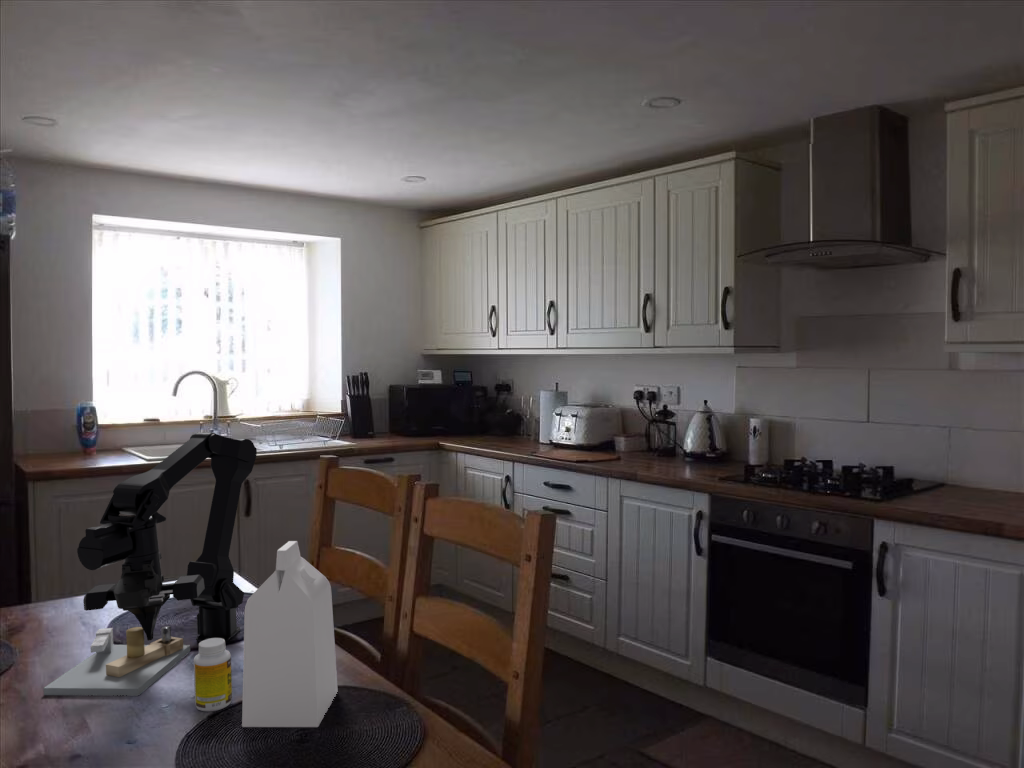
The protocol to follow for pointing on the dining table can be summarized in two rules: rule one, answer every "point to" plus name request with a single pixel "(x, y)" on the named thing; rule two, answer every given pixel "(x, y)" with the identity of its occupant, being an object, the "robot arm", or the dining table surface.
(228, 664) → the supplement bottle
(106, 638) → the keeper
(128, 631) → the latch bar
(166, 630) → the peg
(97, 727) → the dining table surface
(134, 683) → the board
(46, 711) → the dining table surface
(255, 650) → the milk
